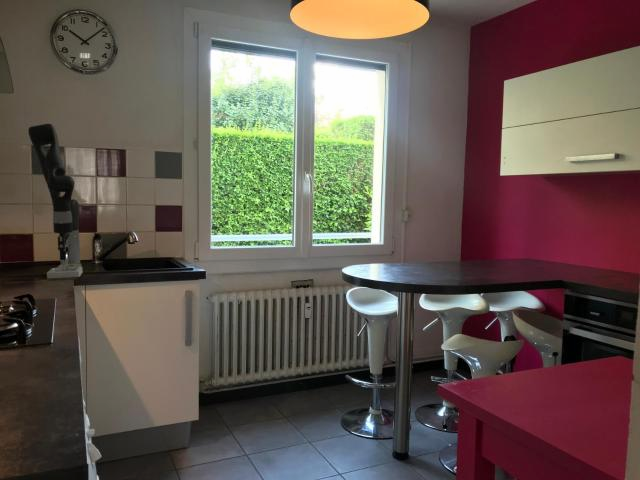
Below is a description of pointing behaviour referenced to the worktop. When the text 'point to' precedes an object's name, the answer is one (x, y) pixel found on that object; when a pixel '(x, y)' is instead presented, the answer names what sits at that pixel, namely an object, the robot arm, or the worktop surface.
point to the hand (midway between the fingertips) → (64, 258)
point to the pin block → (70, 265)
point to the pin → (65, 264)
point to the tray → (64, 273)
